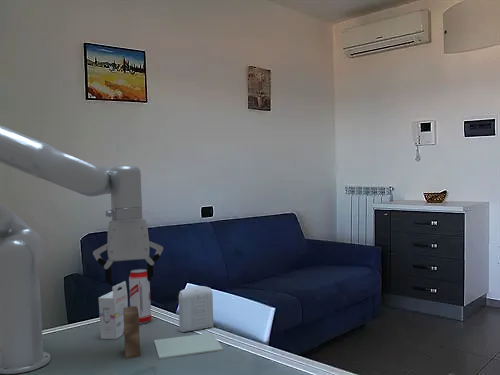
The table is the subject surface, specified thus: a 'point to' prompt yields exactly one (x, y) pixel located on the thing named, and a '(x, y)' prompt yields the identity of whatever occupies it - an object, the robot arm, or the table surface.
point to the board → (187, 345)
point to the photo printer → (195, 308)
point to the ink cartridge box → (113, 312)
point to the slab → (131, 332)
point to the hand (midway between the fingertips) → (129, 282)
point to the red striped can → (140, 294)
